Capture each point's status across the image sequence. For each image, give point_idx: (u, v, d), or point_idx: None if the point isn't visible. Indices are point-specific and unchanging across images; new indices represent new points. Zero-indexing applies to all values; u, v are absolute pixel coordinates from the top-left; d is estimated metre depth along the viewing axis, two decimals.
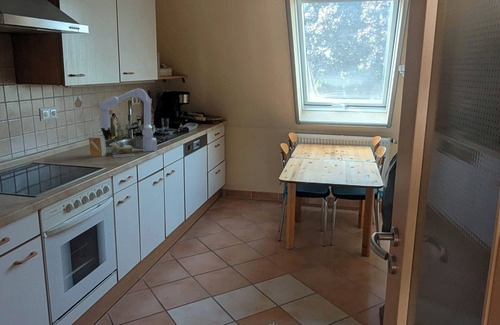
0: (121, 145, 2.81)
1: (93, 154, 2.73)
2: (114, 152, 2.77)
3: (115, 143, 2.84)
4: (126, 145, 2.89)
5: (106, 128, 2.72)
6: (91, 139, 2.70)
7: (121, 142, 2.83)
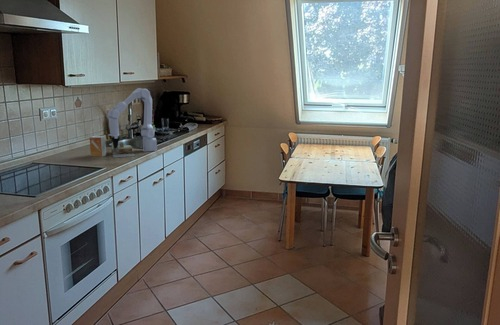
0: (121, 145, 2.81)
1: (93, 154, 2.73)
2: (114, 152, 2.77)
3: None
4: (126, 145, 2.89)
5: (116, 137, 2.68)
6: (92, 139, 2.71)
7: (121, 142, 2.83)
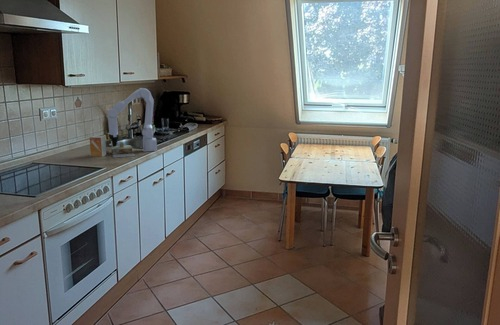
0: (121, 145, 2.81)
1: (93, 154, 2.73)
2: (114, 152, 2.77)
3: None
4: (126, 145, 2.89)
5: (115, 135, 2.74)
6: (92, 139, 2.71)
7: (121, 142, 2.83)
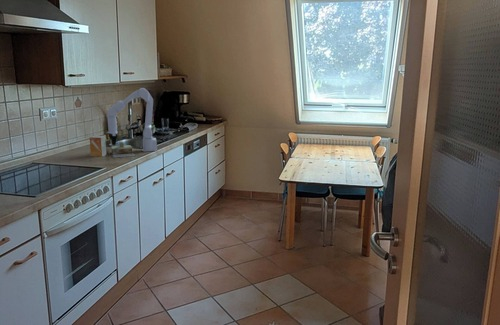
0: (121, 145, 2.81)
1: (93, 154, 2.73)
2: (114, 152, 2.77)
3: None
4: (126, 145, 2.89)
5: (114, 134, 2.79)
6: (92, 139, 2.71)
7: (121, 142, 2.83)
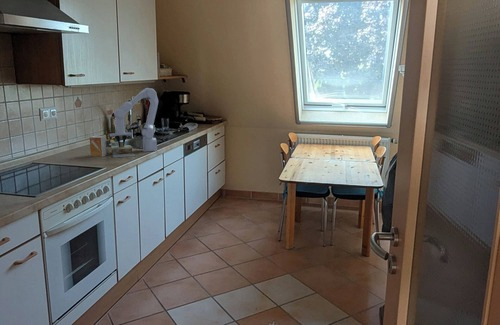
0: (121, 145, 2.81)
1: (93, 154, 2.73)
2: (114, 152, 2.77)
3: (113, 140, 2.96)
4: (126, 145, 2.89)
5: None
6: (92, 139, 2.71)
7: (121, 142, 2.83)
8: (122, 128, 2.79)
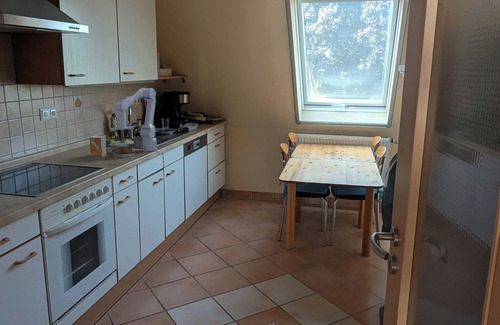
0: (123, 140, 2.71)
1: (93, 154, 2.73)
2: (114, 152, 2.77)
3: (113, 140, 2.96)
4: None
5: None
6: (92, 139, 2.71)
7: (122, 137, 2.73)
8: (124, 122, 2.69)
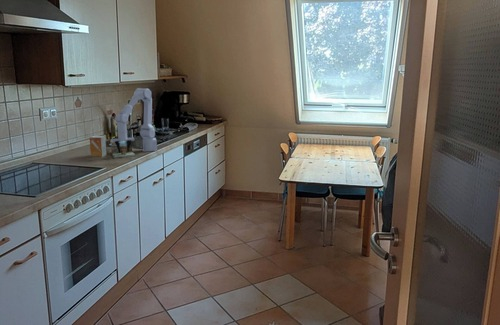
0: (123, 152, 2.73)
1: (93, 154, 2.73)
2: (114, 152, 2.77)
3: None
4: None
5: (111, 140, 2.70)
6: (92, 139, 2.71)
7: (123, 149, 2.75)
8: (124, 133, 2.70)
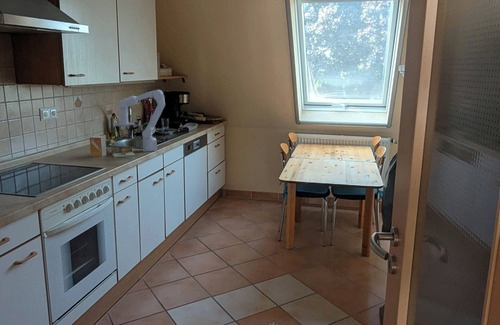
0: (123, 152, 2.73)
1: (93, 154, 2.73)
2: (114, 152, 2.77)
3: (113, 140, 2.96)
4: None
5: (113, 125, 2.85)
6: (92, 139, 2.71)
7: (123, 149, 2.75)
8: (125, 118, 2.85)
